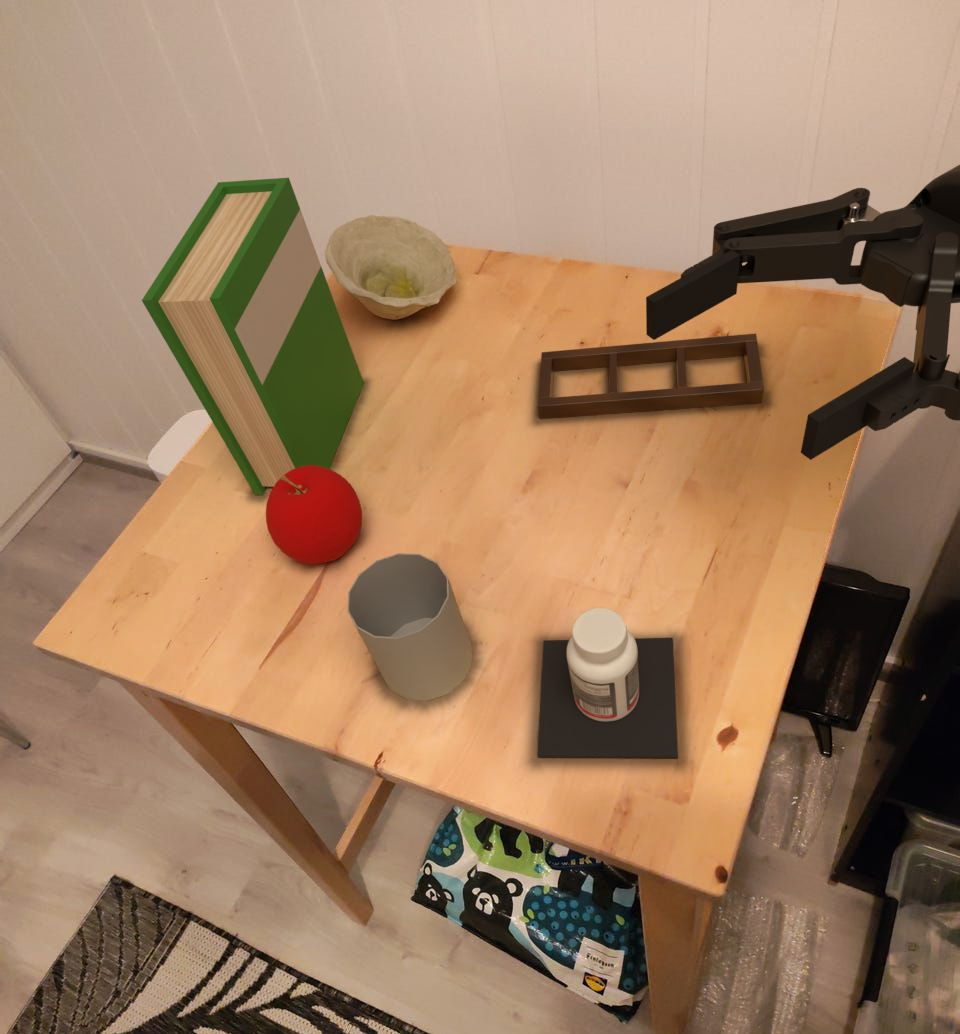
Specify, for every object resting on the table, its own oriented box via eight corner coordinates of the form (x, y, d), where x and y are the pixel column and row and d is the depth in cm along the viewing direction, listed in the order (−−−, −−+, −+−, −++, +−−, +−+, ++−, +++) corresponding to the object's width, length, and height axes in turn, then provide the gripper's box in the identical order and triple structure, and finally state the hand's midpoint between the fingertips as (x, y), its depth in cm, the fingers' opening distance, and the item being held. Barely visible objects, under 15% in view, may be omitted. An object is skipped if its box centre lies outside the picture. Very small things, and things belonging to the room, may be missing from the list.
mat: (672, 640, 71) (672, 637, 71) (677, 759, 65) (677, 756, 65) (544, 643, 73) (543, 640, 73) (538, 758, 67) (537, 755, 67)
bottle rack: (754, 347, 89) (756, 333, 87) (762, 403, 84) (764, 389, 83) (543, 365, 93) (541, 351, 92) (539, 419, 89) (537, 406, 87)
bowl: (438, 352, 98) (418, 275, 89) (332, 345, 102) (303, 271, 94) (477, 273, 105) (461, 195, 96) (376, 269, 109) (354, 195, 101)
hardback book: (317, 497, 88) (219, 298, 68) (255, 494, 90) (141, 300, 70) (363, 383, 97) (288, 177, 77) (306, 382, 99) (218, 182, 79)
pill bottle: (613, 655, 71) (608, 587, 63) (652, 700, 68) (652, 635, 60) (560, 688, 70) (548, 624, 62) (598, 735, 67) (590, 674, 59)
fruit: (317, 499, 88) (282, 428, 80) (388, 521, 84) (359, 450, 76) (267, 564, 84) (225, 497, 76) (339, 590, 81) (303, 523, 72)
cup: (390, 712, 72) (356, 652, 64) (372, 638, 77) (338, 573, 68) (483, 682, 72) (461, 617, 64) (459, 609, 77) (436, 540, 68)
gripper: (1164, 363, 47) (876, 548, 44) (838, 195, 61) (599, 327, 57) (1241, 239, 41) (912, 444, 38) (859, 83, 55) (592, 224, 51)
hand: (722, 374), depth 48 cm, fingers open, 13 cm apart
